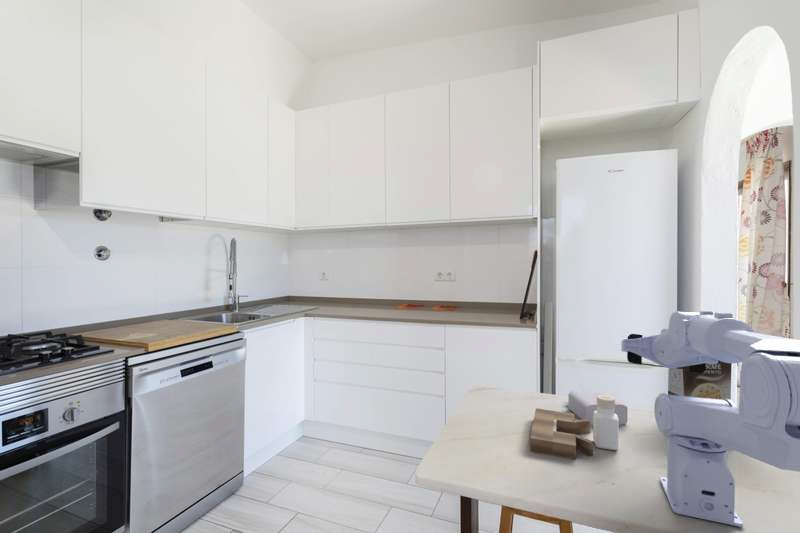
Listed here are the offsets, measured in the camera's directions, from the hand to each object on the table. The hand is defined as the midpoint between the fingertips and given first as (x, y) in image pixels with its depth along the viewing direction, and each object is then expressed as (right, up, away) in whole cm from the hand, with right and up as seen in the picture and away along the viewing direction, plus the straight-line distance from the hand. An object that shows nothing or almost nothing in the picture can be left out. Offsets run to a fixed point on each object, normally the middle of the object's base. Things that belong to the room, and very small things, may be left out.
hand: (654, 359), depth 78 cm
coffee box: (+13, -16, +6) cm, 22 cm away
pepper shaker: (-11, -17, -2) cm, 20 cm away
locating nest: (-18, -16, +1) cm, 24 cm away
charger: (-5, -17, +15) cm, 23 cm away
